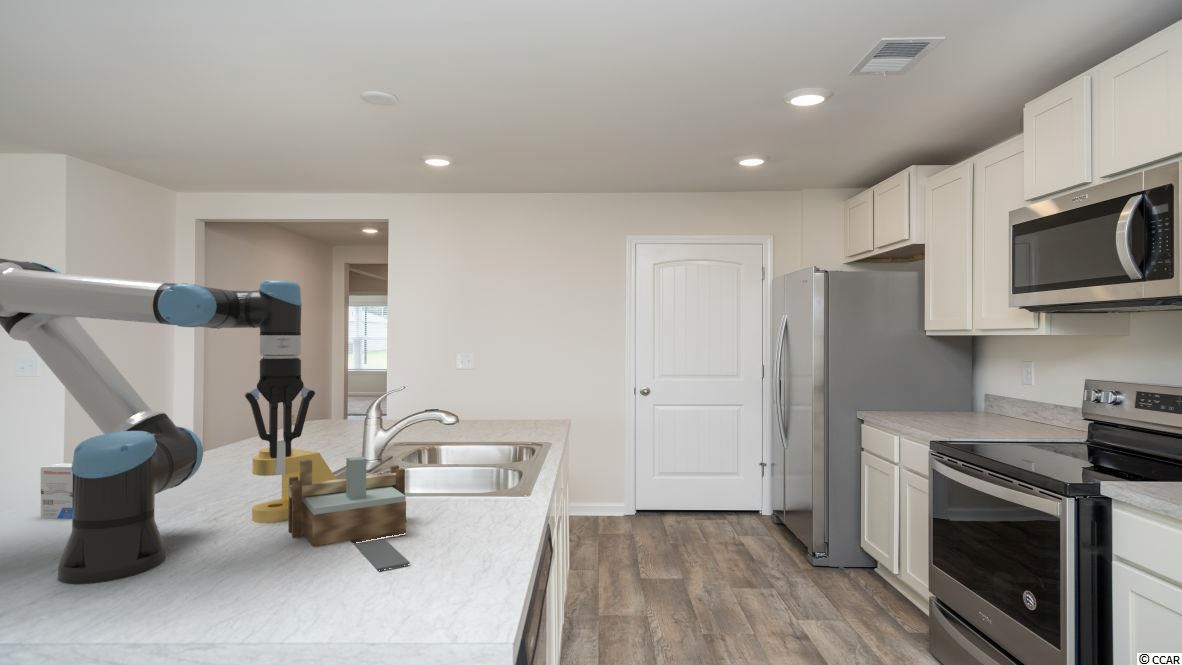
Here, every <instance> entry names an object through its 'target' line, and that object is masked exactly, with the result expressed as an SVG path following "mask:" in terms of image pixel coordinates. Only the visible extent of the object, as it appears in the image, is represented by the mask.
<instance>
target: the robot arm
mask: <svg viewBox="0 0 1182 665" xmlns="http://www.w3.org/2000/svg"><path fill="white" fill-rule="evenodd" d="M301 292H302V290H301V286H300V284H298V283H297V282H295V281H288V280H263V281H261V282H260V284H259V288H258V290H230V289H229V290H227V289H223V288H221V289H220V288H214V287H207V286H202V285H199V284H195V283H194V284H193V283H184V282H183V283H170V282H163V281H153V280H152V281H150V280H140V279H132V278H131V279H129V278H121V277H119V278H118V277H109V276H108V277H107V276H99V275H98V276H97V275H84V274H76V273H74V274H73V273H64V272H61V271H59V270H57V268H54V267H52V266H48V265H45V264H43V263H38V262H33V261H18V260H14V259H6V258H1V257H0V326H1V328H3V330H4V331H5V332H6V333H7V334H8V335H9V337H11V339H13V340H16V341H22V342H27V343H28V344H29V345H30V347H31V348H32V349H33V350H34V351H35V353H36V354H37V355H38V356H39V358H40V359H41V360H42V361H43V363H44V364H45V365H46V366H47V367H48V368H49V369H50V371H51V372H52V373H53V375H55V377H56V379H58V380H59V382H60V383H61V384H62V385H63V387H64V388H66V390H67V391H68V393H70V395H71V396H72V397H73V399H74V400H75V401H76V402H77V403H78V405H79V406H80V407H81V408H82V410H83V411H84V412H86V414H87V415H88V417H89V418H90V419H91V420H92V421H93V423H95V425H96V426H97V427H98V429H99V430H100V431H101V432H102V433H103V434H100V435H95V436H92V437H89V438H87V439H85V440H83V441H81V442H80V443H79V444H77V445H76V447H75V448H74V451H73V458H72V460H73V461H72V463H71V464H72V467H71V469H72V472H73V492H72V520H71V522H72V523H71V532H70V535H69V536H68V540H67V543H66V545H65V548H64V550H63V553H62V555H61V558H60V560H59V562H58V566H57V568H58V570H57V573H58V574H57V579H58V580H59V582H62V583H64V584H65V583H66V584H71V585H89V584H90V585H92V584H100V583H107V582H112V581H118V580H121V579H126V578H129V577H132V576H133V577H134V576H137V575H140V574H142V573H145V572H148V571H149V570H153V569H154V568H157V567H158V566H160V565H161V564H163V563H164V562H165V560H166V546H165V543H164V540H163V538H162V535H161V533H160V530H159V528H158V525H157V522H156V519H155V504H156V503H155V498H156V496H155V495H157V494H159V493H162V492H164V491H166V490H168V489H169V490H170V489H174V488H177V487H178V486H180V485H182V484H183V483H184V482H186V481H188V480H189V479H190V478H192V477H193V476H194V475H195V474H196V473H197V472H198V471H199V469H200V468H201V465H202V463H203V462H202V461H203V457H204V447H203V444H202V441H201V439H200V437H199V436H198V435H197V434H196V433H195V432H194V431H192V429H188V428H186V427H182V426H178V425H176V424H175V423H174V422H173V421H172V419H171V418H170V417H169V416H168V415H167V414H166V412H164V411H163V412H162V411H155V410H152V409H151V407H149V406H148V404H147V403H146V402H145V400H143V398H142V397H141V396H140V394H139V393H138V391H136V390H135V389H134V387H133V386H132V384H130V382H129V381H128V380H127V379H126V378H125V377H124V375H123V374H122V373H121V371H119V369H118V368H117V367H116V365H115V364H114V363H113V362H112V360H111V359H110V358H109V357H108V356H107V355H106V353H105V352H104V351H103V350H102V349H101V348H100V345H98V343H97V342H96V341H95V340H94V339H93V338H92V336H91V335H90V334H89V333H88V331H87V330H86V329H85V328H84V327H83V325H82V324H81V323H80V322H79V321H78V320H77V318H84V319H85V318H87V319H100V320H109V321H110V320H111V321H112V320H113V321H121V322H122V321H125V322H135V323H147V324H150V323H151V324H160V325H168V326H177V327H182V328H209V329H218V330H219V329H238V328H239V329H241V328H242V329H247V328H248V329H251V328H253V329H259V355H260V356H262V358H260V360H259V379H258V382H257V384H256V387H255V388H254V389H252V390H251V391H249V392H248V391H247V392H245V393H244V398H245V399H246V400H247V401H248V403H249V405H250V407H251V411H252V415H253V418H254V422H255V426H256V430H257V432H258V437H259V438H260V440H262V441H267V442H268V443H269V446H268V448H269V455H270V457H271V458H275V473H276V474H277V475H276V476H282V475H284V474H285V457H290V456H291V447H292V441H293V440H294V439H297V438H300V437H301V436H302V433H303V429H304V425H305V423H306V422H305V421H306V418H307V417H306V416H307V413H308V410H309V407H310V402H311V401H312V400H313V398H314V396H315V395H316V392H315V390H314V389H313V390H312V389H310V388H308V387H306V386H305V385H304V384H305V383H304V381H303V380H302V359H301V358H300V357H299V356H301V355H302V342H301V341H302V337H301V336H302V332H301V331H302V306H303V303H302V294H301ZM298 357H299V358H298ZM300 393H301V394H300ZM260 394H261V395H262V397H263V398H264V399H265V401H267V402H268V408H269V412H268V413H269V414H268V415H269V416H268V417H269V419H268V420H269V422H268V424H269V425H268V426H269V427H268V432H269V433H267V429H266V426H265V423H264V419H263V414H262V411H261V407H260V405H259V402H258V401H259V400H260ZM299 394H300V397H301V398H302V399H301V400H300V404H299V408H298V412H297V416H296V419H295V423H294V426H293V425H292V424H293V423H292V421H293V420H292V419H293V418H292V416H293V414H292V413H293V412H292V411H293V410H292V407H293V401H294V400H295V399H296V398H297V397H298V395H299ZM280 403H281V404H282V407H283V408H282V414H283V415H282V418H283V420H282V421H283V422H282V426H283V432H282V433H283V434H282V435H283V436H282V437H283V438H282V439H283V440H278V429H279V428H278V427H279V426H278V420H279V418H278V416H279V412H278V409H279V404H280ZM292 426H293V430H292Z"/></svg>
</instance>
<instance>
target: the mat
mask: <svg viewBox="0 0 1182 665" xmlns="http://www.w3.org/2000/svg"><path fill="white" fill-rule="evenodd" d="M353 545H354V547H355V548H356V549H357V550H358V551H359V552H360V554H362V555H363V557H364V558H365V559H366V561H368V562H369V564H371V565H372V566H373V568H374V569H375V570H376V571H377V572H378V571H379V570H384V569H389V568H395V567H400V566H404V565H408V564H410V561H409V560H408V559H407V558H406V557H405V556H403V555H402V554H401V553H400V552H399V551H398V550H397V549H396V548H395V547H393V545H392V544H391V543H390V542H388V541H387V539H381V540H376V541H370V542H364V543H359V544H353ZM410 565H411V564H410ZM400 568H401V567H400ZM395 569H396V568H395Z"/></svg>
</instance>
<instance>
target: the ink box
mask: <svg viewBox="0 0 1182 665" xmlns="http://www.w3.org/2000/svg"><path fill="white" fill-rule="evenodd" d="M71 467H72V463H71V462H70V463H68V462H67V463H64V462H62V463H61V462H58V463H55V464H48V465H44V466H41V467H40V519H69V520H70V519H72V492H73V472H72V469H71Z"/></svg>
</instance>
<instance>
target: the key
mask: <svg viewBox="0 0 1182 665" xmlns="http://www.w3.org/2000/svg"><path fill="white" fill-rule="evenodd" d="M336 479H337V480H329V481H320V482H312V460H311V459H304V460H300V480H301V481H302V497H304V496H312V495H319V494H327V493H335V492H343V491H346V478H340V479H338V478H336ZM390 485H396V473H390V472H389V473H384V474H383V473H382V474H373V475H366V488H374V487H382V486H390ZM289 497H290V498H292V485H289Z"/></svg>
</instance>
